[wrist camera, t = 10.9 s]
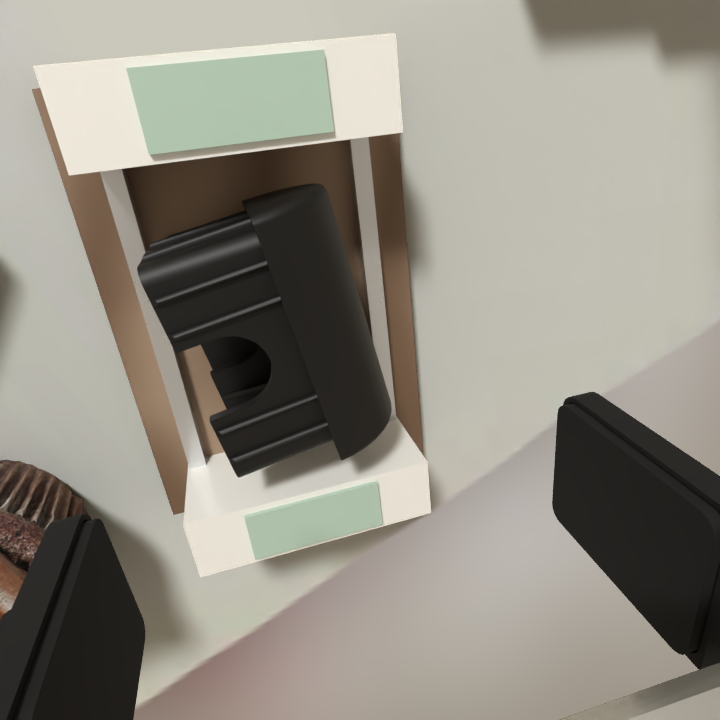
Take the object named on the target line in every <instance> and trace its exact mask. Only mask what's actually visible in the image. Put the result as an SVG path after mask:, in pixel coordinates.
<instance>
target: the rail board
mask: <svg viewBox="0 0 720 720" xmlns="http://www.w3.org/2000/svg"><path fill="white" fill-rule="evenodd" d="M32 91H33V94H34V97H35V100H36V103H37V106H38V109H39V112H40V115H41V118H42V121H43V124H44V127H45V130H46V133H47V136H48V139H49V142H50V145H51V148H52V151H53V154H54V157H55V160H56V163H57V166H58V169H59V172H60V175H61V178H62V181H63V184H64V187H65V190H66V193H67V196H68V199H69V202H70V205H71V208H72V211H73V214H74V217H75V220H76V223H77V227H78V230H79V233H80V236H81V239H82V242H83V245H84V248H85V251H86V254H87V257H88V260H89V263H90V266H91V269H92V272H93V275H94V278H95V281H96V284H97V287H98V290H99V293H100V296H101V299H102V302H103V305H104V308H105V311H106V314H107V317H108V320H109V323H110V326H111V329H112V332H113V335H114V338H115V341H116V344H117V347H118V350H119V353H120V356H121V359H122V362H123V365H124V368H125V371H126V374H127V377H128V380H129V383H130V386H131V389H132V392H133V395H134V398H135V401H136V404H137V407H138V410H139V413H140V416H141V419H142V422H143V425H144V428H145V431H146V434H147V437H148V440H149V443H150V446H151V449H152V452H153V455H154V458H155V461H156V464H157V467H158V470H159V473H160V476H161V479H162V482H163V485H164V488H165V491H166V494H167V497H168V500H169V503H170V506H171V509H172V512H173V515H175V514H179V513H182V512H184V509H185V497H186V485H187V473H188V461H187V458H186V455H185V451H184V448H183V445H182V442H181V438H180V435H179V432H178V428H177V425H176V422H175V418H174V415H173V412H172V409H171V405H170V402H169V399H168V395H167V392H166V389H165V385H164V382H163V379H162V376H161V372H160V369H159V366H158V362H157V359H156V356H155V352H154V349H153V346H152V343H151V339H150V336H149V333H148V329H147V326H146V323H145V319H144V316H143V313H142V309H141V306H140V303H139V300H138V296H137V293H136V290H135V286H134V283H133V280H132V276H131V273H130V270H129V267H128V263H127V260H126V257H125V253H124V250H123V247H122V243H121V240H120V237H119V234H118V230H117V227H116V224H115V220H114V217H113V214H112V210H111V207H110V204H109V201H108V197H107V194H106V191H105V187H104V184H103V181H102V177H101V174H100V172H93V173H85V174H78V175H70V176H69V174H68V171H67V168H66V165H65V162H64V159H63V156H62V153H61V150H60V147H59V144H58V141H57V138H56V134H55V131H54V128H53V125H52V122H51V119H50V116H49V113H48V110H47V107H46V104H45V101H44V98H43V95H42V92H41V89H40V88H39V89H32ZM368 138H369V148H370V158H371V168H372V179H373V189H374V199H375V209H376V219H377V229H378V239H379V249H380V259H381V269H382V279H383V289H384V299H385V309H386V319H387V329H388V339H389V349H390V359H391V369H392V379H393V389H394V399H395V410H396V416H397V418H398V419H399V421H400V422H401V424H402V425H403V427H404V428H405V430H406V431H407V433H408V434H409V436H410V437H411V438H412V440H413V441H414V443H415V444H416V446H417V447H418V449H419V450H420V452H422V451H423V448H422V435H421V422H420V409H419V397H418V384H417V371H416V358H415V345H414V332H413V319H412V307H411V294H410V281H409V268H408V255H407V242H406V229H405V216H404V204H403V191H402V178H401V165H400V152H399V139H398V133H395V134H387V135H380V136H372V137H368ZM125 171H126V174H127V178H128V181H129V185H130V189H131V192H132V196H133V199H134V203H135V206H136V210H137V213H138V217H139V220H140V224H141V227H142V231H143V234H144V238H145V241H146V245H147V248H148V250H149V247H150V245H151V243H152V242H155V241H158V240H161V239H164V238H166V237H167V236H170V235H173V234H176V233H179V232H182V231H185V230H188V229H191V228H194V227H197V226H200V225H203V224H206V223H209V222H212V221H215V220H218V219H221V218H224V217H227V216H230V215H233V214H236V213H239V212H242V211H245V209H244V206H243V203H242V201H243V200H246V199H249V198H252V197H256V196H259V195H262V194H266V193H269V192H273V191H276V190H280V189H284V188H288V187H293V186H298V185H304V184H313V183H315V184H321V185H323V186H324V187H325V188H326V189H327V191H328V195H329V198H330V201H331V205H332V208H333V211H334V215H335V218H336V221H337V225H338V228H339V231H340V234H341V238H342V241H343V244H344V248H345V251H346V254H347V258H348V261H349V264H350V268H351V271H352V274H353V278H354V281H355V284H356V288H357V291H358V294H359V297H360V301H361V304H362V307H363V311H364V314H365V317H366V309H365V300H364V292H363V283H362V274H361V266H360V257H359V249H358V240H357V231H356V223H355V214H354V206H353V197H352V188H351V180H350V171H349V162H348V154H347V145H346V140H341V141H333V142H325V143H318V144H310V145H302V146H294V147H287V148H279V149H271V150H263V151H256V152H248V153H240V154H232V155H225V156H217V157H209V158H201V159H194V160H186V161H178V162H170V163H163V164H155V165H147V166H140V167H132V168H125ZM366 321H367V317H366ZM177 354H178V358H179V361H180V365H181V368H182V372H183V375H184V379H185V383H186V386H187V390H188V393H189V397H190V400H191V404H192V407H193V411H194V414H195V418H196V421H197V425H198V428H199V432H200V435H201V439H202V442H203V446H204V450H205V453H206V456H211V455H215V454H219V453H223V452H224V450H223V448H222V446H221V444H220V442H219V440H218V438H217V436H216V434H215V432H214V430H213V428H212V425H211V423H210V416H211V415H213V414H216V413H219V412H221V411H224V410H227V409H226V407H225V405H224V403H223V401H222V398H221V396H220V394H219V392H218V390H217V388H216V386H215V384H214V381H213V379H212V377H211V375H210V371H212V368H211V366H210V363H209V361H208V359H207V357H206V355H205V353H204V351H203V348H202V346H201V345H198V346H196V347H193V348H190V349H187V350H185V351H182V352H179V353H177Z"/></svg>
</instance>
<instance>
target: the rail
mask: <svg viewBox="0 0 720 720" xmlns="http://www.w3.org/2000/svg"><path fill="white" fill-rule="evenodd" d="M346 145H347V154H348V162H349V171H350V180H351V188H352V197H353V206H354V214H355V223H356V231H357V240H358V249H359V257H360V266H361V274H362V283H363V292H364V300H365V309H366V317H367V324H368V327H369V331H370V334H371V337H372V341H373V344H374V347H375V351H376V354H377V357H378V361H379V364H380V367H381V370H382V374H383V377H384V380H385V384H386V387H387V390H388V394H389V397H390V400H391V407H392V412H391V416H390V420H389V421H392V420H396V410H395V399H394V389H393V379H392V369H391V359H390V349H389V339H388V329H387V319H386V309H385V299H384V289H383V279H382V269H381V259H380V249H379V239H378V229H377V219H376V209H375V199H374V189H373V179H372V168H371V158H370V148H369V138H368V137H364V138H356V139H349V140H346ZM100 174H101V177H102V181H103V184H104V187H105V191H106V194H107V197H108V201H109V204H110V207H111V210H112V214H113V217H114V220H115V224H116V227H117V230H118V234H119V237H120V240H121V243H122V247H123V250H124V253H125V257H126V260H127V263H128V267H129V270H130V273H131V276H132V280H133V283H134V286H135V290H136V293H137V296H138V300H139V303H140V306H141V309H142V313H143V316H144V319H145V323H146V326H147V329H148V333H149V336H150V339H151V343H152V346H153V349H154V352H155V356H156V359H157V362H158V366H159V369H160V372H161V376H162V379H163V382H164V385H165V389H166V392H167V395H168V399H169V402H170V405H171V409H172V412H173V415H174V418H175V422H176V425H177V428H178V432H179V435H180V438H181V442H182V445H183V448H184V451H185V455H186V458H187V461H188V465H189V468H190V469H192V468H196V467H200V466H205V465H206V453H205V450H204V446H203V442H202V439H201V435H200V432H199V428H198V425H197V421H196V418H195V414H194V411H193V407H192V404H191V400H190V397H189V393H188V390H187V386H186V383H185V379H184V375H183V372H182V368H181V365H180V361H179V358H178V354H177V353H175V351H174V349H173V347H172V345H171V343H170V341H169V339H168V337H167V335H166V333H165V331H164V329H163V327H162V325H161V323H160V321H159V319H158V317H157V315H156V313H155V311H154V309H153V307H152V305H151V303H150V301H149V299H148V297H147V294H146V292H145V290H144V288H143V286H142V284H141V281H140V279H139V276H138V271H137V267H138V265H139V264H140V262H141V260H142V257H143V255H144V254H145V253H147V251H148V248H147V245H146V241H145V238H144V234H143V231H142V227H141V224H140V220H139V217H138V213H137V210H136V206H135V203H134V199H133V196H132V192H131V189H130V185H129V181H128V178H127V174H126V171H125V168H124V169H116V170H109V171H101V172H100Z"/></svg>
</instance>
